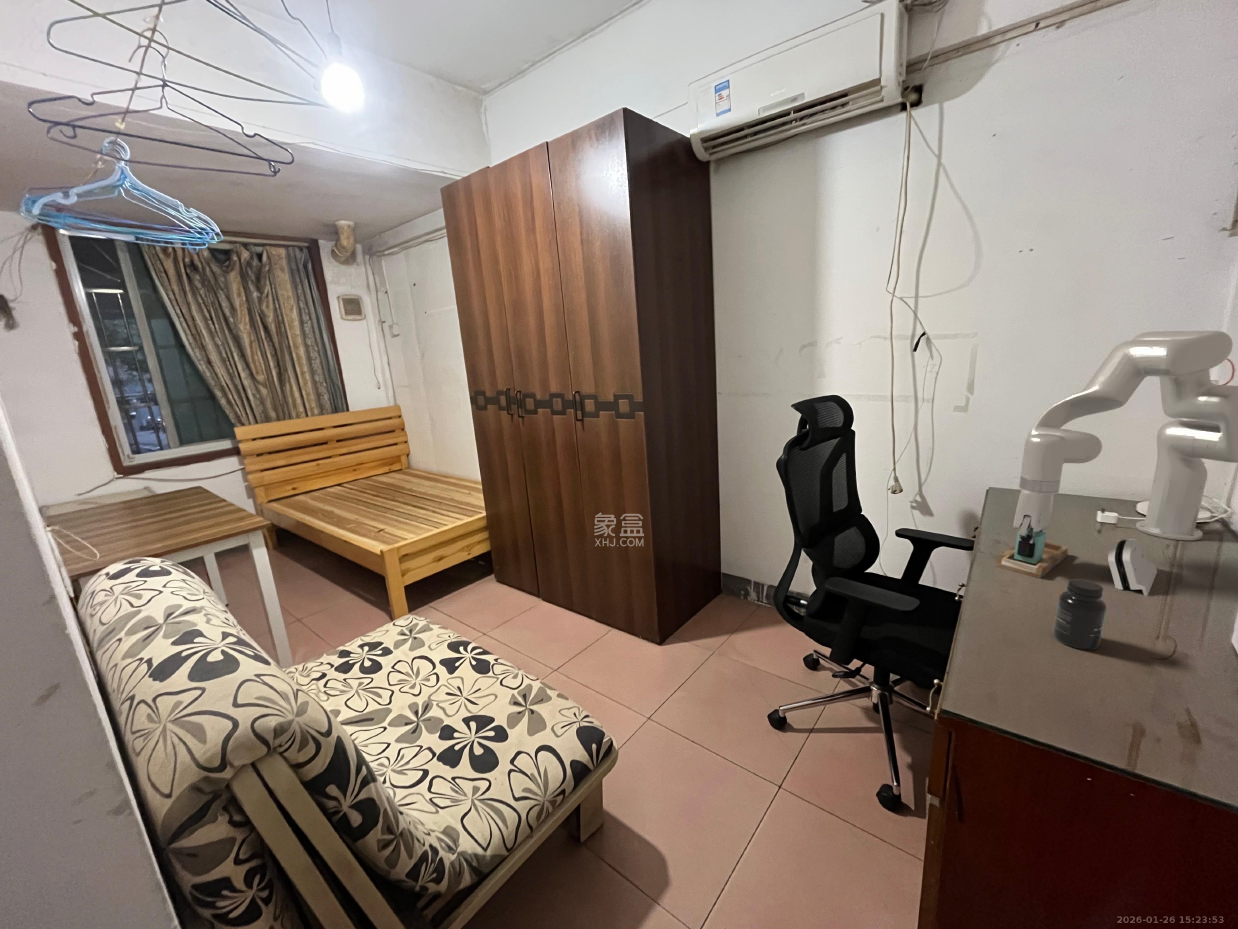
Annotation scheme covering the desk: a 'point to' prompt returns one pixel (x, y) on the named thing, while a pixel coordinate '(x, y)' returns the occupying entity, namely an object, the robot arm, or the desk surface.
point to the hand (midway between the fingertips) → (1029, 552)
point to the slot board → (1049, 560)
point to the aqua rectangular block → (1038, 548)
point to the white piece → (1131, 565)
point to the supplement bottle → (1080, 615)
